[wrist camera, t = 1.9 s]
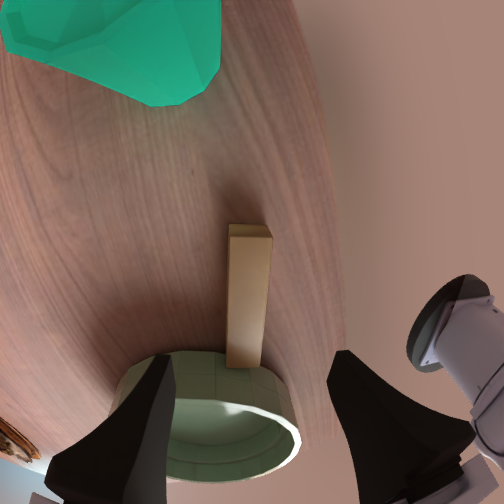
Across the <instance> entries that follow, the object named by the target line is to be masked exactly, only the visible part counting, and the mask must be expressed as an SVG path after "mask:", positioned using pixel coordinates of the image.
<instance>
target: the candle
mask: <svg viewBox="0 0 504 504" xmlns="http://www.w3.org/2000/svg"><path fill="white" fill-rule="evenodd" d="M0 29H1V33H2V37H3V40H4V44H5V47H6V50H7V52H9V53H12V54H16V55H19V56H23V57H26V58H29V59H32V60H35V61H38V62H41V63H44V64H47V65H50V66H53V67H56V68H59V69H61V70H64V71H67V72H70V73H72V74H75V75H78V76H80V77H83V78H85V79H88V80H90V81H93V82H95V83H98V84H100V85H103V86H105V87H108V88H110V89H112V90H115V91H117V92H119V93H122V94H124V95H126V96H128V97H131V98H133V99H135V100H137V101H139V102H142V103H144V104H146V105H148V106H150V107H159V106H172V105H180V104H182V103H183V102H185V101H187V100H189V99H190V98H192V97H194V96H196V95H198V94H199V93H201V92H203V91H205V89H206V88H207V86H208V85H209V83H210V82H211V80H212V79H213V77H214V76H215V75H216V73H217V72H218V70H219V69H220V58H221V0H4V2H3V5H2V8H1V12H0Z"/></svg>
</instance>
